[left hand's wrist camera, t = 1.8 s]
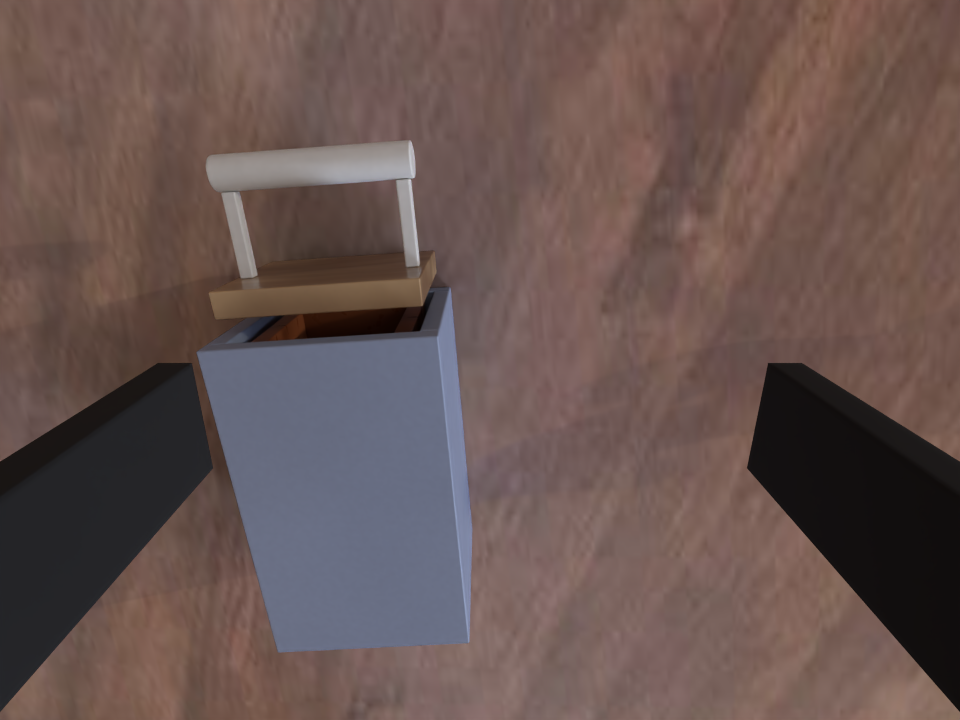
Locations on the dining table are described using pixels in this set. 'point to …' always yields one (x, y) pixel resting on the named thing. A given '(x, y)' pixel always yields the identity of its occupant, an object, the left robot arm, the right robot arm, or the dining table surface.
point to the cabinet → (350, 480)
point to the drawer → (324, 281)
